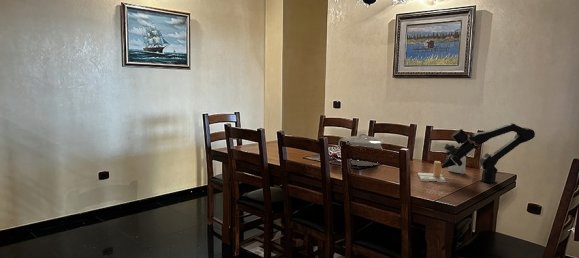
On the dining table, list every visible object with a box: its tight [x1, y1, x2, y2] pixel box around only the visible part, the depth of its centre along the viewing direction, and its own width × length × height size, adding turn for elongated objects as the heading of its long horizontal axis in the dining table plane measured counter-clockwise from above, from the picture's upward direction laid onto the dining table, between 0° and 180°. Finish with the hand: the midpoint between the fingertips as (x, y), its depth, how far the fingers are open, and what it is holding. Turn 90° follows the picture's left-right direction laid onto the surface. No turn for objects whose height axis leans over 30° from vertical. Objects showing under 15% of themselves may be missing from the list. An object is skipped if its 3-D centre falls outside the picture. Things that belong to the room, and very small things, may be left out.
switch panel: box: [417, 172, 446, 183], centre depth 230 cm, size 13×14×2 cm
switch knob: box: [432, 160, 442, 177], centre depth 228 cm, size 3×4×9 cm, turn 170°
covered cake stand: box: [338, 133, 386, 167], centre depth 261 cm, size 28×28×21 cm
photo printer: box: [447, 156, 467, 175], centre depth 246 cm, size 10×4×12 cm, turn 39°
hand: (441, 167), depth 228 cm, fingers closed
